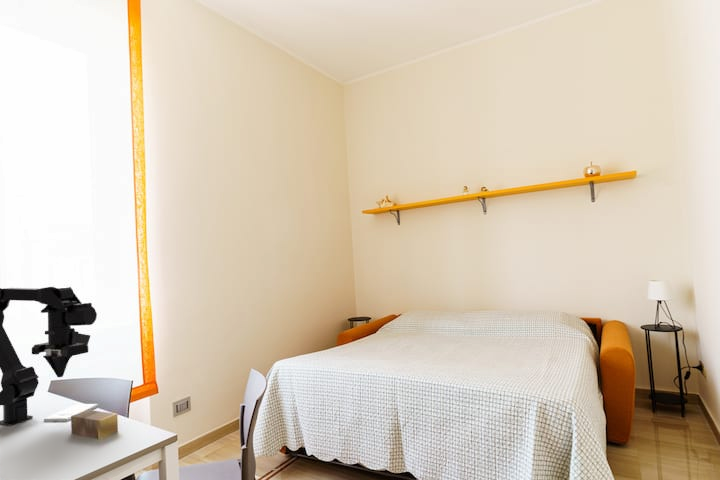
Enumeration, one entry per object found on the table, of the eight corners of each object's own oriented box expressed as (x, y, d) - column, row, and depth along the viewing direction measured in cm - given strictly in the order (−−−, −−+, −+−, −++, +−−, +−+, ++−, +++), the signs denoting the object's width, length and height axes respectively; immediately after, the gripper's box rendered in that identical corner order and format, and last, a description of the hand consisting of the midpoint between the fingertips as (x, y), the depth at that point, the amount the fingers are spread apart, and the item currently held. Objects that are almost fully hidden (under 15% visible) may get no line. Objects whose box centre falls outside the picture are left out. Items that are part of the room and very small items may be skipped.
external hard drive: (98, 408, 138) (67, 423, 126) (76, 408, 139) (43, 423, 127) (98, 403, 138) (67, 418, 126) (76, 404, 140) (43, 418, 127)
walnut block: (71, 416, 116) (100, 420, 111) (88, 409, 121) (117, 413, 116) (71, 434, 116) (100, 439, 111) (89, 427, 120) (117, 432, 116)
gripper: (104, 322, 133) (105, 371, 132) (67, 322, 140) (68, 368, 140) (68, 328, 123) (69, 381, 122) (30, 327, 130) (31, 377, 129)
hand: (60, 377), depth 129 cm, fingers closed
